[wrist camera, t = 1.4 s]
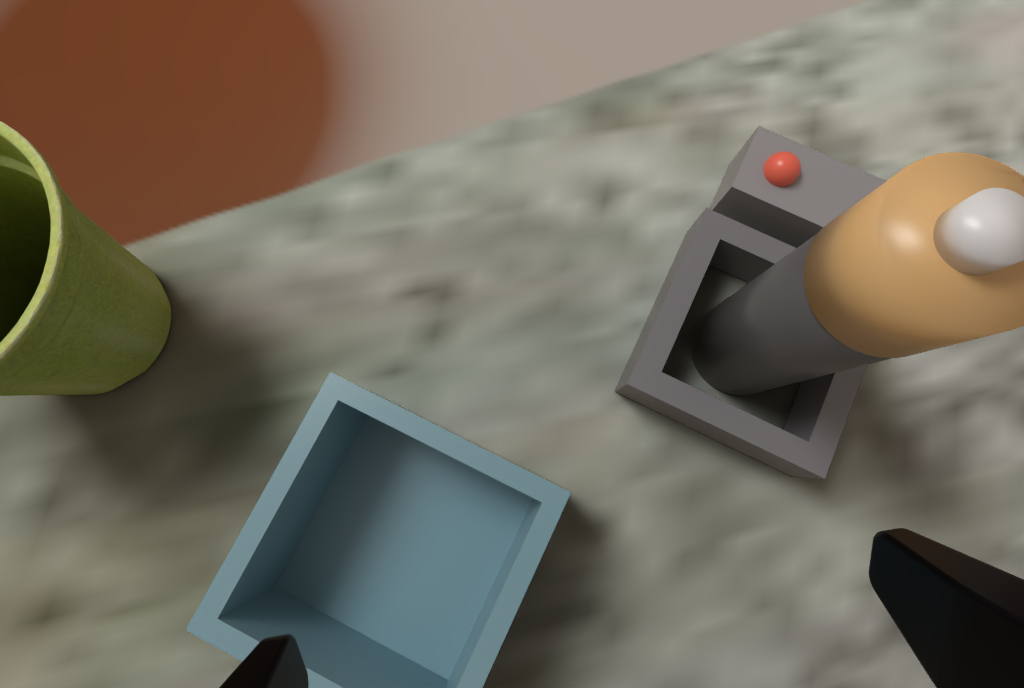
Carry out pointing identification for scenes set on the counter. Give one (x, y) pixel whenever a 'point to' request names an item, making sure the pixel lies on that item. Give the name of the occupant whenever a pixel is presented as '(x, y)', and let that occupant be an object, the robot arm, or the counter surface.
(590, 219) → the counter surface
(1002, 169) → the battery cell
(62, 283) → the plant pot
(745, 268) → the tester
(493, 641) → the bin
